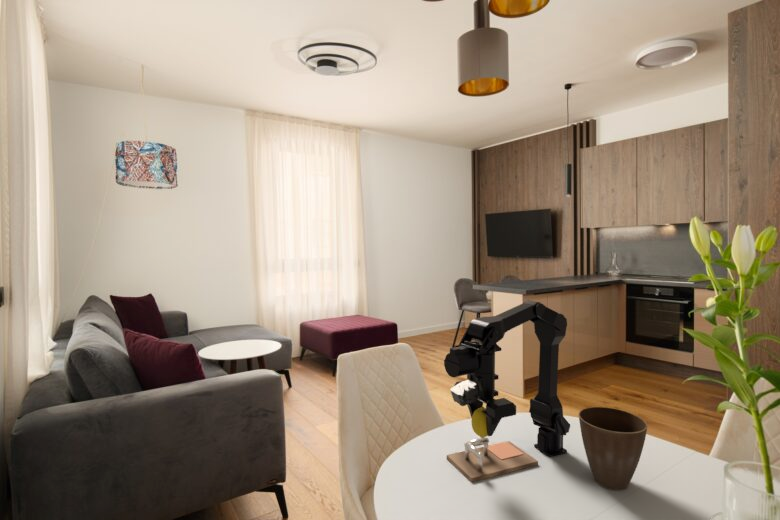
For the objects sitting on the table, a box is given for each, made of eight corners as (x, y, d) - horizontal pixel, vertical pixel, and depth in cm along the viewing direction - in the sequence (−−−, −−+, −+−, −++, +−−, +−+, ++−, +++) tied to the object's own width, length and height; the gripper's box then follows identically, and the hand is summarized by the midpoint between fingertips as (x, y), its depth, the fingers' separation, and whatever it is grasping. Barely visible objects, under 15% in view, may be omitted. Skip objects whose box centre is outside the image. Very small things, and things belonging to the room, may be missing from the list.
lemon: (494, 444, 103) (494, 412, 102) (471, 442, 104) (471, 410, 103) (493, 433, 108) (493, 403, 108) (471, 432, 109) (471, 401, 109)
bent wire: (486, 452, 116) (486, 436, 116) (503, 466, 109) (504, 448, 109) (463, 458, 113) (463, 441, 113) (479, 472, 106) (479, 454, 106)
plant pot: (619, 507, 94) (621, 438, 93) (564, 474, 107) (565, 413, 107) (658, 489, 101) (661, 424, 100) (602, 460, 114) (604, 402, 113)
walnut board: (509, 444, 123) (509, 441, 123) (538, 464, 112) (538, 461, 112) (446, 458, 115) (446, 455, 115) (471, 482, 104) (471, 478, 104)
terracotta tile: (506, 442, 122) (506, 441, 122) (523, 454, 115) (523, 453, 115) (484, 447, 119) (484, 446, 119) (501, 460, 112) (501, 459, 112)
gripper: (436, 363, 110) (436, 421, 111) (478, 386, 93) (477, 455, 94) (472, 358, 115) (471, 414, 116) (518, 379, 98) (517, 445, 99)
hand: (482, 430), depth 106 cm, fingers closed on lemon, 5 cm apart
